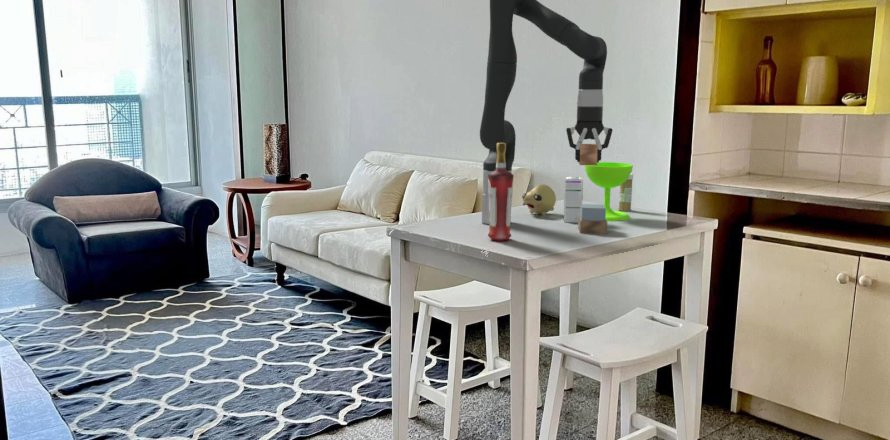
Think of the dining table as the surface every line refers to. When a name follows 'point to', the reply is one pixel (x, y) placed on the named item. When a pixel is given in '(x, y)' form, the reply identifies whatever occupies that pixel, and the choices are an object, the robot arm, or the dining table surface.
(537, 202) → the beige round toy
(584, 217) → the slate block
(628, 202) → the sprinkles bottle
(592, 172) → the wineglass
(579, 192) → the syrup box
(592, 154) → the terracotta cube
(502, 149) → the liquor
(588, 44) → the robot arm
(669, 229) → the dining table surface
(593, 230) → the walnut slab
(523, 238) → the dining table surface
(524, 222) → the dining table surface
